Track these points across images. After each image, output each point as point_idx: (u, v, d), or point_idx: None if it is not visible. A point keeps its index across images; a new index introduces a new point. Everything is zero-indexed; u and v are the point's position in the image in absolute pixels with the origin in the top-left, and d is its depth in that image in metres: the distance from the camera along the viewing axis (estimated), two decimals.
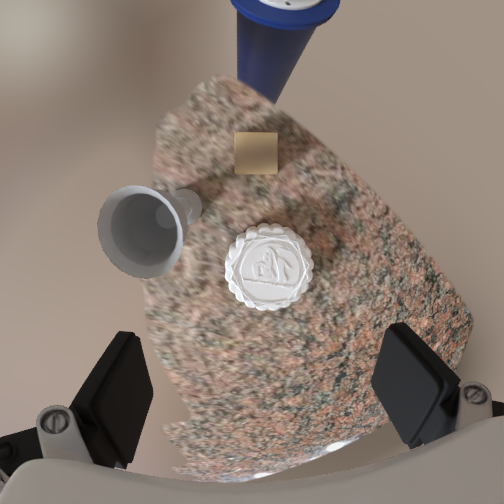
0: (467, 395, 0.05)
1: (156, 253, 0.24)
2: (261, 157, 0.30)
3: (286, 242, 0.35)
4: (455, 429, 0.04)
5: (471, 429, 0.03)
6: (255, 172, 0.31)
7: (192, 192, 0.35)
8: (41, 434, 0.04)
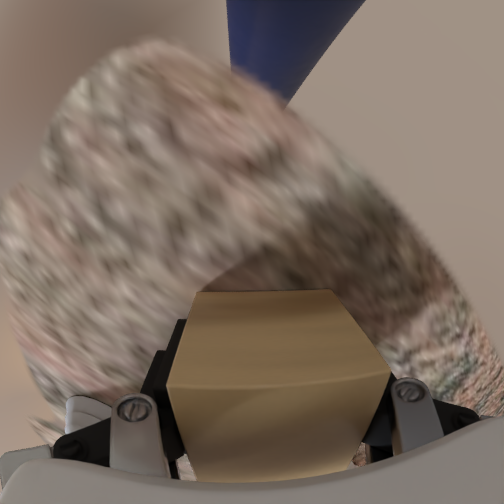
0: (400, 394, 0.06)
1: None
2: (299, 455, 0.06)
3: None
4: (397, 434, 0.04)
5: (471, 429, 0.03)
6: None
7: (107, 412, 0.11)
8: (121, 424, 0.05)
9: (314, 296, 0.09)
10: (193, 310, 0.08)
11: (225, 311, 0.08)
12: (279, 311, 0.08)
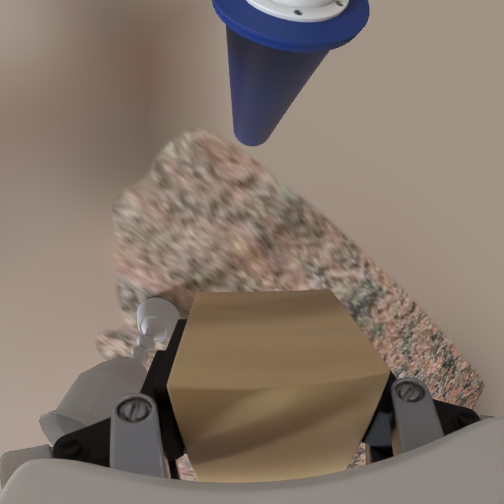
0: (400, 394, 0.06)
1: None
2: (299, 454, 0.06)
3: None
4: (397, 434, 0.04)
5: (471, 429, 0.03)
6: None
7: (166, 303, 0.26)
8: (122, 424, 0.05)
9: (314, 297, 0.09)
10: (193, 310, 0.08)
11: (225, 311, 0.08)
12: (279, 311, 0.08)
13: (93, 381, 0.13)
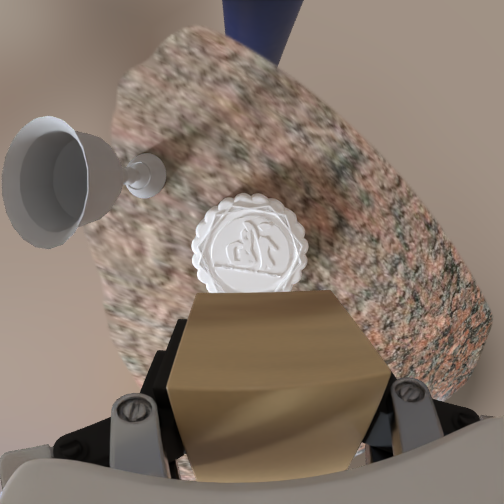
0: (400, 394, 0.06)
1: None
2: (299, 456, 0.06)
3: (271, 215, 0.26)
4: (397, 434, 0.04)
5: (471, 429, 0.03)
6: None
7: (154, 157, 0.27)
8: (122, 424, 0.05)
9: (314, 297, 0.09)
10: (193, 311, 0.08)
11: (225, 312, 0.08)
12: (279, 312, 0.08)
13: None
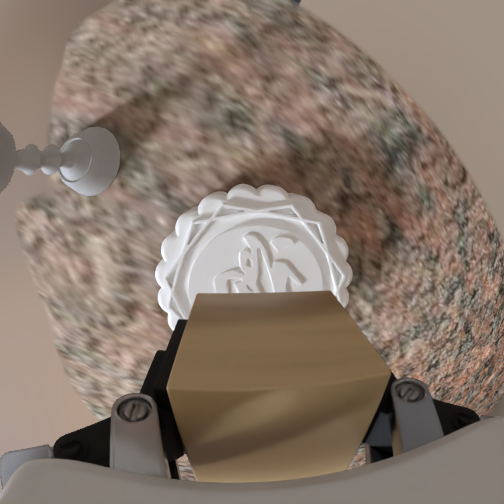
0: (400, 394, 0.06)
1: None
2: (299, 456, 0.06)
3: (293, 223, 0.15)
4: (397, 434, 0.04)
5: (471, 429, 0.03)
6: None
7: (103, 130, 0.15)
8: (121, 424, 0.05)
9: (315, 297, 0.09)
10: (193, 312, 0.08)
11: (225, 313, 0.08)
12: (279, 313, 0.08)
13: None
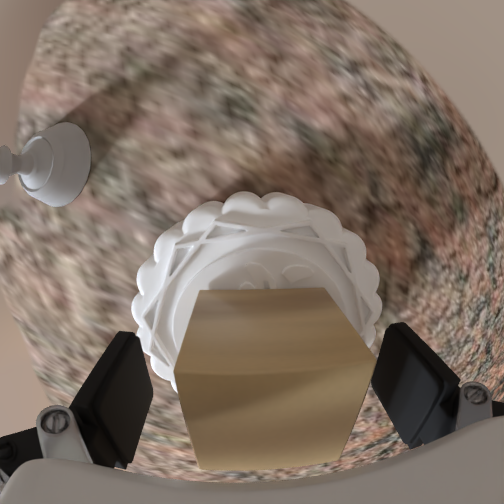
0: (467, 395, 0.05)
1: None
2: (293, 440, 0.07)
3: (312, 247, 0.11)
4: (455, 429, 0.04)
5: (471, 429, 0.03)
6: (267, 468, 0.07)
7: (72, 126, 0.11)
8: (41, 434, 0.04)
9: (309, 294, 0.10)
10: (196, 306, 0.09)
11: (226, 307, 0.09)
12: (275, 307, 0.09)
13: None
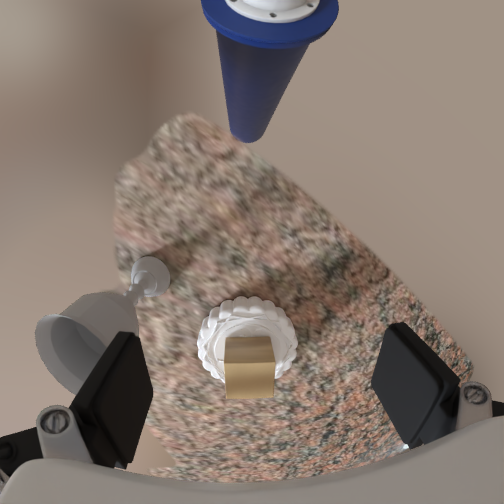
0: (467, 395, 0.05)
1: None
2: (255, 385, 0.25)
3: (265, 322, 0.30)
4: (455, 429, 0.04)
5: (471, 429, 0.03)
6: (248, 397, 0.26)
7: (158, 261, 0.30)
8: (41, 434, 0.04)
9: (263, 339, 0.29)
10: (226, 344, 0.28)
11: (235, 344, 0.28)
12: (251, 344, 0.28)
13: (87, 299, 0.16)
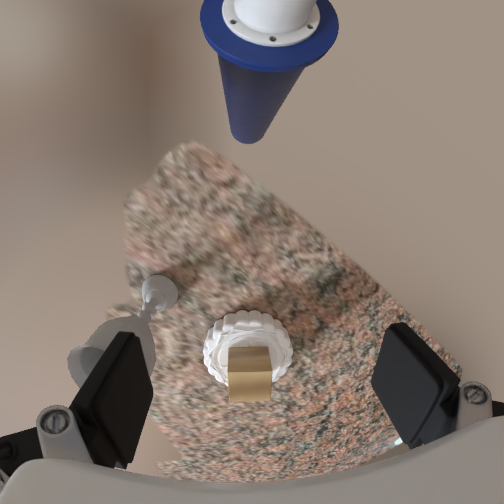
0: (467, 395, 0.05)
1: None
2: (255, 390, 0.29)
3: (264, 334, 0.33)
4: (455, 429, 0.04)
5: (471, 429, 0.03)
6: (249, 400, 0.29)
7: (166, 279, 0.33)
8: (41, 434, 0.04)
9: (262, 349, 0.32)
10: (229, 354, 0.31)
11: (237, 354, 0.31)
12: (251, 354, 0.31)
13: (110, 327, 0.20)
